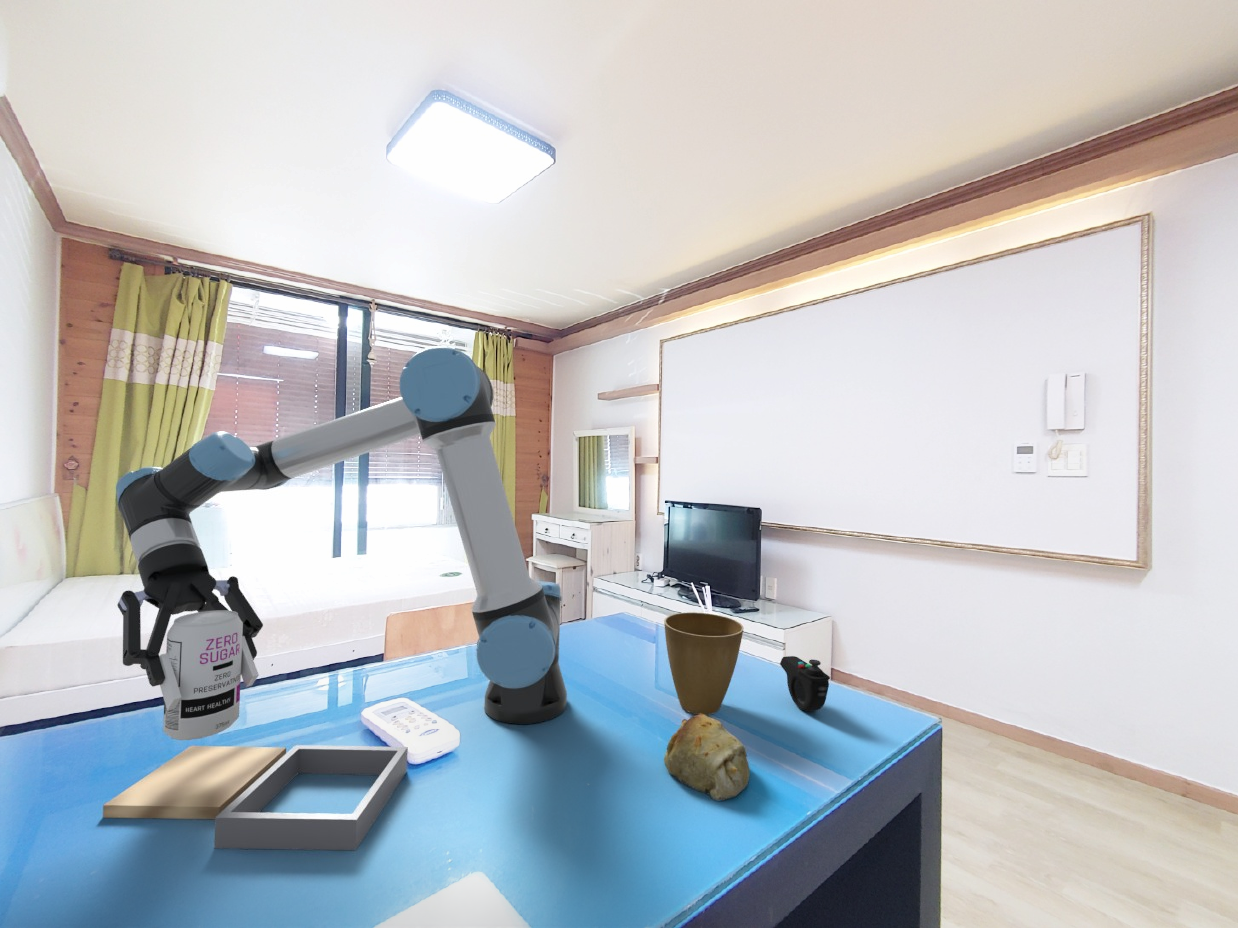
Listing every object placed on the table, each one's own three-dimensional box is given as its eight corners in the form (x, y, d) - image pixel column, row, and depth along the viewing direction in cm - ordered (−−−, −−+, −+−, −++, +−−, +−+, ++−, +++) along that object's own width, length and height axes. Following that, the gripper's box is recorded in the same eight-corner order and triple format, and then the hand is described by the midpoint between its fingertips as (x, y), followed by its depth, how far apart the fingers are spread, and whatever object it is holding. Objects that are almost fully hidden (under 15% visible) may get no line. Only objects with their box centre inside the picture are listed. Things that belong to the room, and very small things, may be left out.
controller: (811, 722, 97) (813, 667, 97) (776, 693, 109) (777, 644, 109) (832, 720, 98) (834, 665, 98) (795, 692, 110) (796, 643, 110)
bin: (406, 771, 78) (407, 746, 78) (355, 849, 62) (356, 819, 62) (294, 769, 77) (295, 744, 77) (214, 848, 61) (215, 817, 61)
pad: (286, 757, 80) (286, 747, 80) (218, 818, 66) (219, 806, 66) (190, 755, 80) (190, 745, 80) (102, 817, 66) (103, 805, 66)
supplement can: (191, 713, 77) (195, 608, 77) (252, 713, 78) (256, 609, 78) (146, 742, 69) (151, 625, 69) (214, 742, 69) (219, 626, 70)
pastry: (660, 747, 87) (662, 698, 87) (737, 749, 87) (738, 700, 87) (668, 801, 73) (670, 742, 73) (760, 804, 73) (762, 745, 73)
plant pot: (651, 715, 98) (653, 627, 98) (674, 685, 112) (676, 608, 112) (733, 732, 92) (736, 639, 92) (746, 699, 106) (749, 618, 106)
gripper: (240, 563, 90) (286, 681, 82) (64, 583, 72) (101, 738, 64) (257, 534, 87) (307, 654, 79) (79, 548, 70) (119, 705, 61)
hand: (215, 691), depth 71 cm, fingers closed on supplement can, 8 cm apart
